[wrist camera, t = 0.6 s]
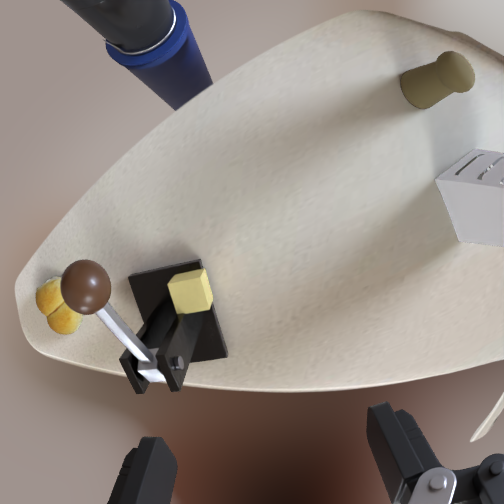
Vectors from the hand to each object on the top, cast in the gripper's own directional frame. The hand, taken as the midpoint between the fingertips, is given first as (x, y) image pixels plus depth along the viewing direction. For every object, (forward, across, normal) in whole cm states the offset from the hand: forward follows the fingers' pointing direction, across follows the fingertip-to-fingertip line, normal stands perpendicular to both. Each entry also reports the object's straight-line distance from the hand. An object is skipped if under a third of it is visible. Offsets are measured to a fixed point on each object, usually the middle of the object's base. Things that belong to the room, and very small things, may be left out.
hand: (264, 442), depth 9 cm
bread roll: (+28, +31, +1) cm, 42 cm away
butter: (+27, +8, +2) cm, 28 cm away
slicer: (+28, +12, +6) cm, 31 cm away
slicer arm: (+15, +12, -1) cm, 19 cm away
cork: (+28, -27, -18) cm, 43 cm away
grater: (+28, -33, -3) cm, 44 cm away
